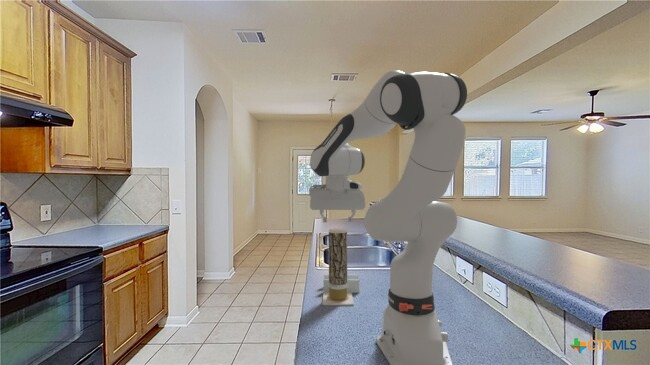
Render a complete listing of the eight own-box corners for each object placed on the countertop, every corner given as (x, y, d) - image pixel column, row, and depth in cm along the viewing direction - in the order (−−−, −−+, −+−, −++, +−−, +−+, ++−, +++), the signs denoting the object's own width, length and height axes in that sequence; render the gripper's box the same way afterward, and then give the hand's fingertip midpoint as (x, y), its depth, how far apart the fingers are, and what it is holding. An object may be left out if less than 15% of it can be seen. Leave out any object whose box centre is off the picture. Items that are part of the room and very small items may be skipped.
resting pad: (353, 305, 112) (353, 303, 112) (322, 305, 113) (322, 303, 113) (351, 293, 123) (351, 292, 123) (323, 293, 124) (323, 291, 124)
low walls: (359, 292, 124) (359, 280, 124) (323, 292, 125) (323, 279, 125) (358, 286, 131) (358, 274, 131) (324, 286, 131) (324, 274, 131)
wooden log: (340, 302, 113) (340, 232, 112) (325, 298, 117) (325, 230, 116) (350, 296, 119) (350, 229, 118) (335, 292, 123) (335, 228, 122)
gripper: (308, 184, 114) (308, 223, 114) (365, 184, 114) (365, 223, 114) (309, 184, 120) (310, 220, 121) (364, 184, 120) (364, 220, 120)
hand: (337, 222), depth 117 cm, fingers open, 8 cm apart
